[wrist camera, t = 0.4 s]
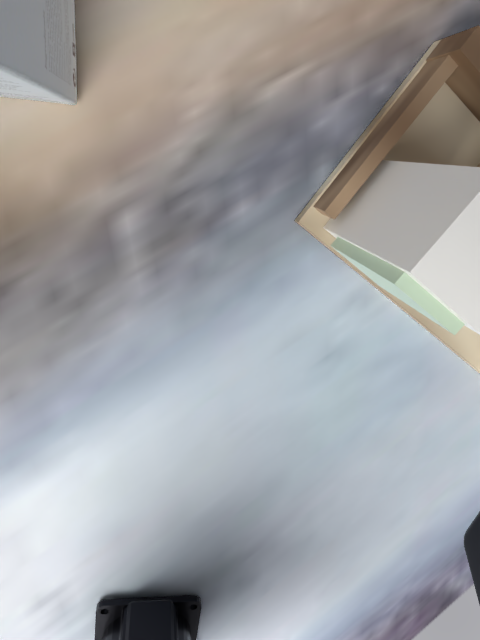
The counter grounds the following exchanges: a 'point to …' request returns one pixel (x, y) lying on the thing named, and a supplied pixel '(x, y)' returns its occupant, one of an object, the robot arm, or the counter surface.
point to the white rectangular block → (418, 238)
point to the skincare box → (38, 50)
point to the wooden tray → (414, 150)
